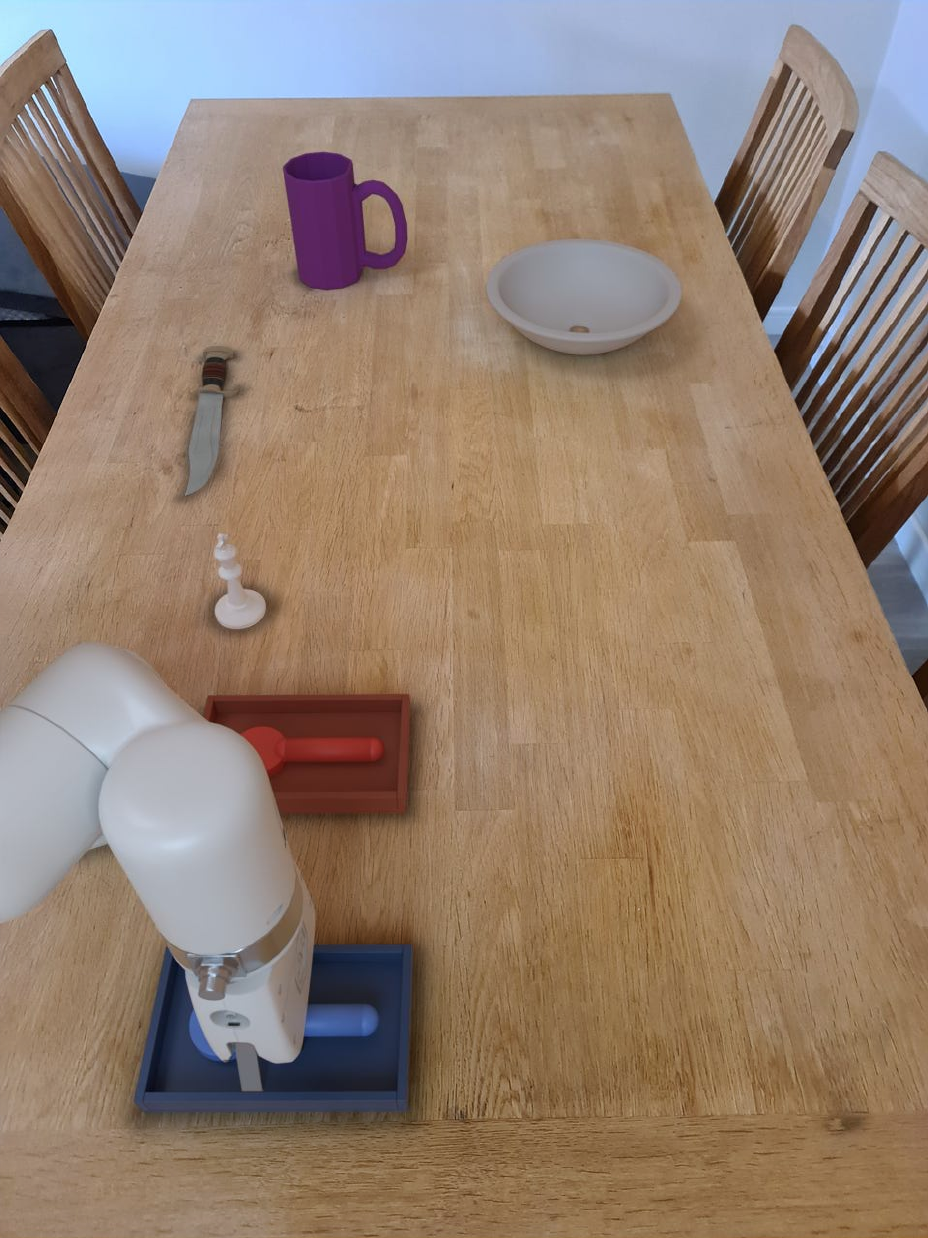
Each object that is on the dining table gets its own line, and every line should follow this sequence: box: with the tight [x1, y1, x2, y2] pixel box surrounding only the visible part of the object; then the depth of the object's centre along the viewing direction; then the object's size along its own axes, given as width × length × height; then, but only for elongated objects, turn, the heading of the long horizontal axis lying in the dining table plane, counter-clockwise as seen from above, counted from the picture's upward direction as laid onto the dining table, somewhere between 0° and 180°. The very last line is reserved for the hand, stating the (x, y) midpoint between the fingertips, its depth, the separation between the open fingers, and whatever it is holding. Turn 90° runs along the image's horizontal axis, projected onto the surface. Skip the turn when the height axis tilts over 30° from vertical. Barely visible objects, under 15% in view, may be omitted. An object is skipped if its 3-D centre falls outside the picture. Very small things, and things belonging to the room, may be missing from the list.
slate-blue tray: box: [133, 943, 414, 1114], centre depth 65 cm, size 17×10×3 cm, turn 90°
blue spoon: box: [189, 1004, 379, 1061], centre depth 65 cm, size 13×5×2 cm, turn 90°
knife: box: [184, 345, 240, 497], centre depth 112 cm, size 27×2×5 cm
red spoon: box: [240, 726, 384, 778], centre depth 80 cm, size 13×5×2 cm, turn 90°
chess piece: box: [213, 532, 267, 630], centre depth 89 cm, size 5×5×10 cm
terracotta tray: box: [202, 693, 412, 815], centre depth 80 cm, size 17×10×3 cm, turn 90°
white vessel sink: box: [485, 238, 683, 356], centre depth 122 cm, size 24×24×7 cm
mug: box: [282, 151, 409, 291], centre depth 129 cm, size 9×16×15 cm, turn 87°
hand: (283, 1025), depth 65 cm, fingers closed on blue spoon, 2 cm apart
